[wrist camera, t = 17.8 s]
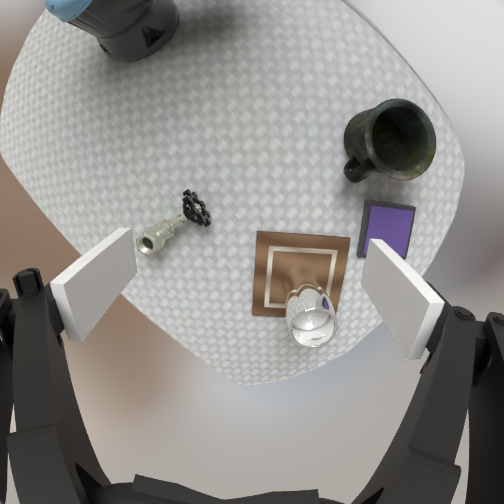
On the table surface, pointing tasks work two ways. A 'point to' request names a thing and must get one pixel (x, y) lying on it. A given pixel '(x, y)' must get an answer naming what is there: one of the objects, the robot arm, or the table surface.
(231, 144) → the table surface
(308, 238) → the board
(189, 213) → the valve
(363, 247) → the ink pad
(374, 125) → the mug
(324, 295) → the beer glass
